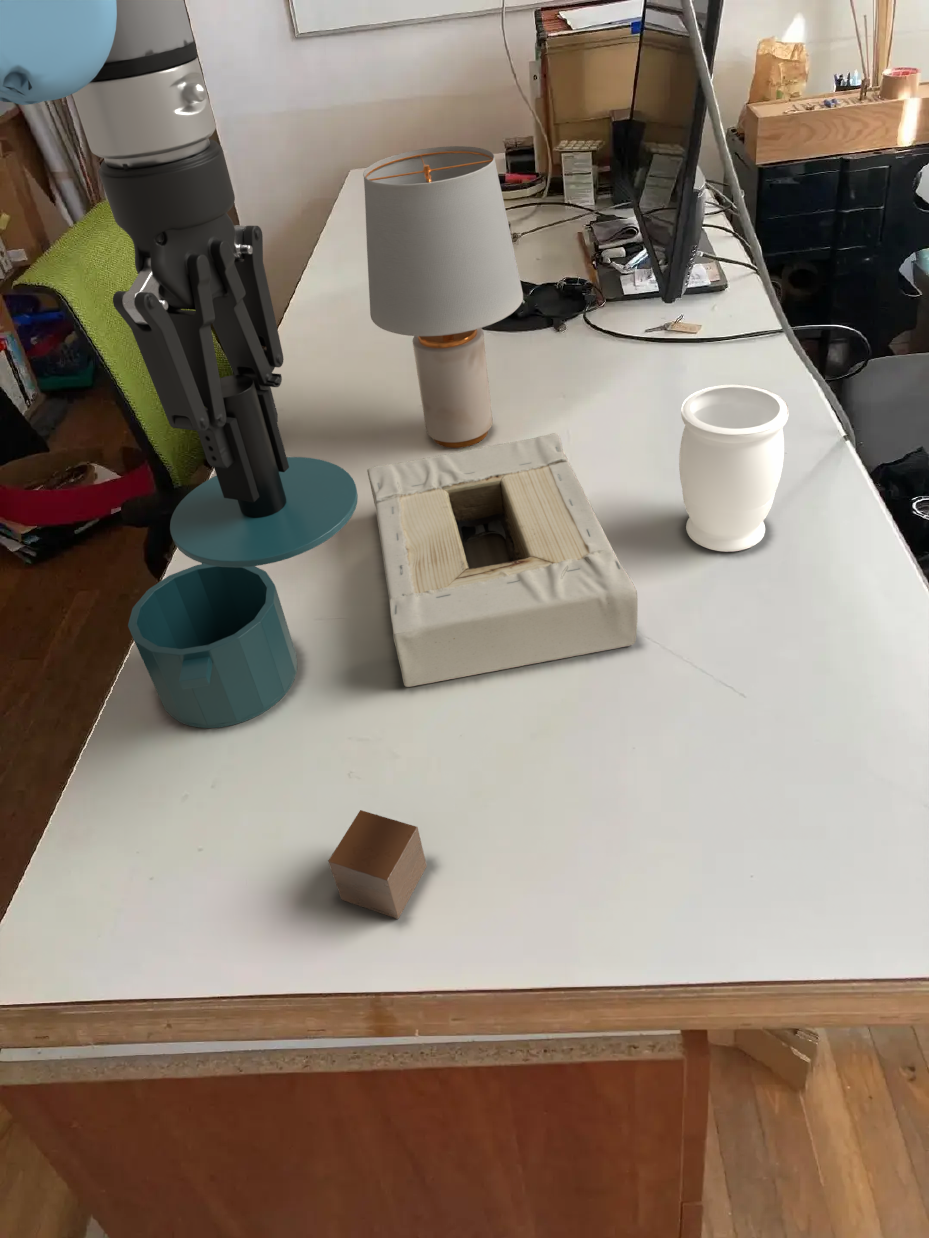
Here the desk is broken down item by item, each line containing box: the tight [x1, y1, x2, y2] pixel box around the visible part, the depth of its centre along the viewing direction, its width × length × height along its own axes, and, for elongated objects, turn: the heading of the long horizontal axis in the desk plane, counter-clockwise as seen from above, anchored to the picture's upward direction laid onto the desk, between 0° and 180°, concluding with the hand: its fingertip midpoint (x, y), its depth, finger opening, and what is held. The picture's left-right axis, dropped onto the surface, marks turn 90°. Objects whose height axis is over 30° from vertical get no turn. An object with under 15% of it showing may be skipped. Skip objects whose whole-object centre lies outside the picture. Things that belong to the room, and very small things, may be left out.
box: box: [366, 432, 639, 688], centre depth 99 cm, size 23×8×32 cm
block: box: [327, 809, 428, 920], centre depth 71 cm, size 5×5×5 cm
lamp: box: [362, 145, 524, 449], centre depth 115 cm, size 19×19×34 cm
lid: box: [169, 374, 359, 567], centre depth 69 cm, size 15×15×11 cm
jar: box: [678, 384, 789, 553], centre depth 97 cm, size 11×10×15 cm
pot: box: [127, 563, 298, 729], centre depth 90 cm, size 14×19×10 cm
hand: (257, 481), depth 71 cm, fingers closed on lid, 4 cm apart
